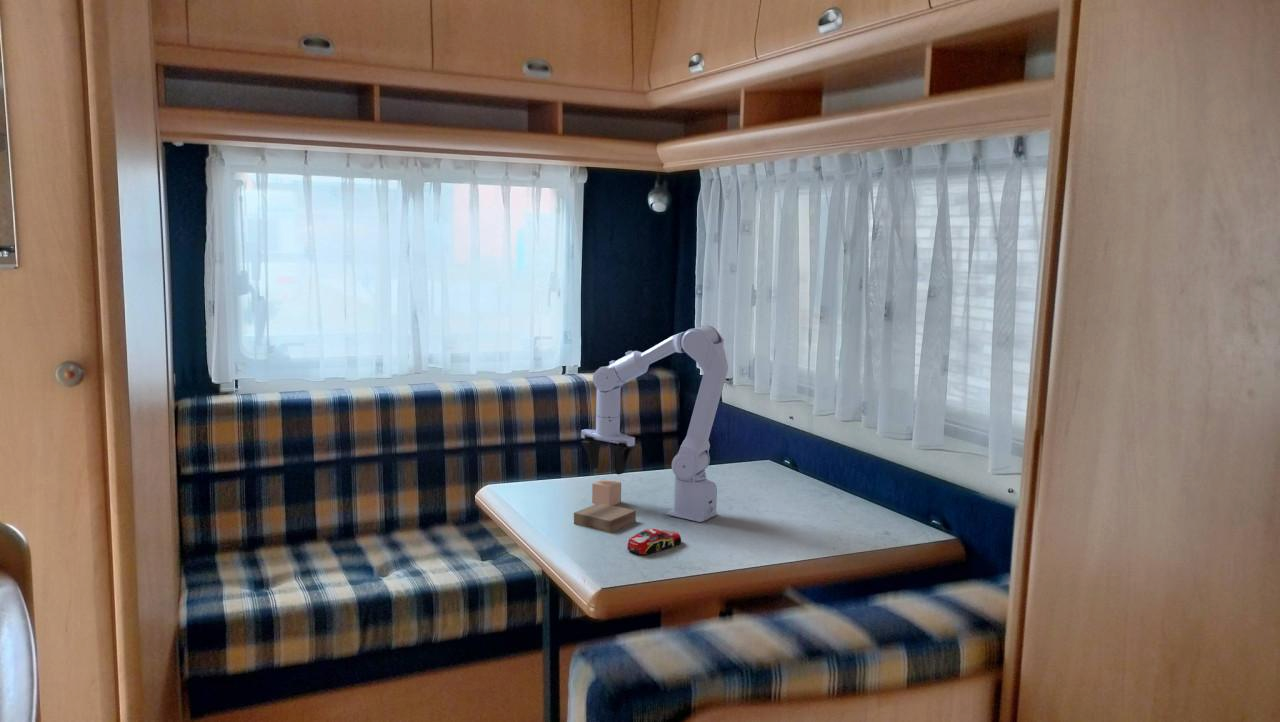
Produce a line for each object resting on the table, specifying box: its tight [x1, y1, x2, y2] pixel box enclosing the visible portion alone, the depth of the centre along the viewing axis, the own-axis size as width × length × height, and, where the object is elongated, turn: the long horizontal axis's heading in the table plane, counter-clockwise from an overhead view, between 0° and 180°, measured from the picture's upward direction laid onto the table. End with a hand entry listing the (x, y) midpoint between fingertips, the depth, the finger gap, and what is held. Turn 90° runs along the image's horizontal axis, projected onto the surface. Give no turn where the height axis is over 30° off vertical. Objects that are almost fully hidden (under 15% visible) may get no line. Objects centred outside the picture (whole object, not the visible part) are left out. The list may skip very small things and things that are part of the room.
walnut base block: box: [573, 503, 637, 533], centre depth 208 cm, size 10×10×3 cm
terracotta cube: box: [591, 478, 622, 506], centre depth 224 cm, size 5×5×5 cm
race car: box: [626, 528, 682, 555], centre depth 193 cm, size 13×5×4 cm, turn 133°
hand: (606, 471), depth 223 cm, fingers open, 7 cm apart
